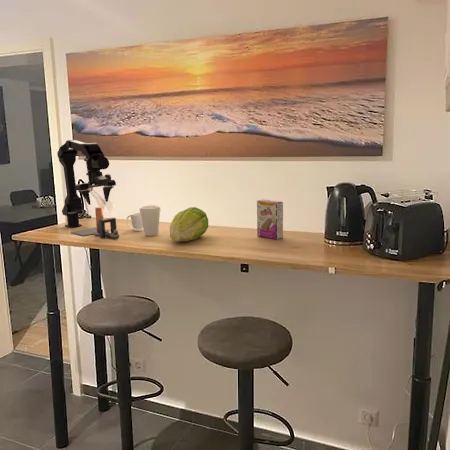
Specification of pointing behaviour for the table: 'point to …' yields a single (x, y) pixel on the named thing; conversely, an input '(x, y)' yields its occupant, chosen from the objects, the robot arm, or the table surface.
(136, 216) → the cup
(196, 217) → the lettuce
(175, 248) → the table surface
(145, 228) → the foam cup
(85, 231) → the mat
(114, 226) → the brown square arch
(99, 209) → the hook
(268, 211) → the candy bar box
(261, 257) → the table surface
